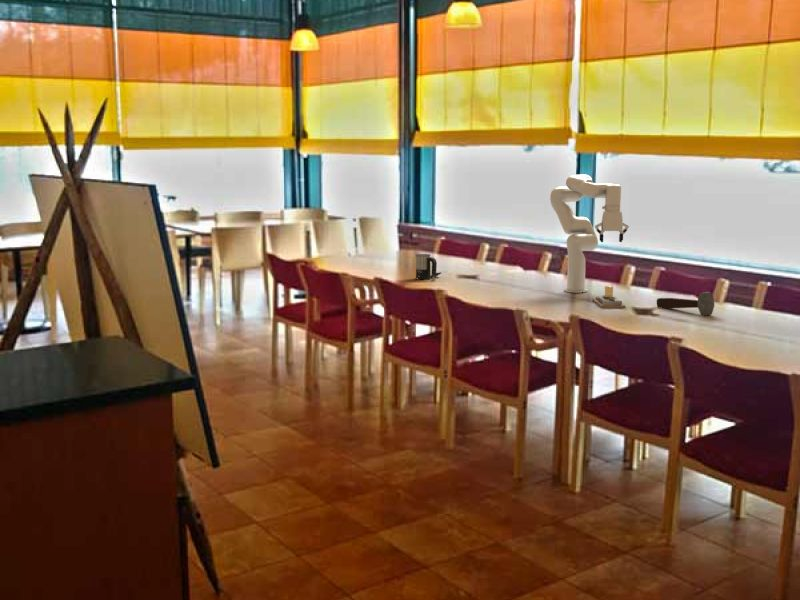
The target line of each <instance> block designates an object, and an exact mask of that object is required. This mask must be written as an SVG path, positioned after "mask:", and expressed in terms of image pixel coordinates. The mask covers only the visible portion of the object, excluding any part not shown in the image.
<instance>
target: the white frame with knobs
mask: <svg viewBox="0 0 800 600" xmlns="http://www.w3.org/2000/svg"><path fill="white" fill-rule="evenodd" d="M591 300H592V302H593V301H594V304H596V305H597V306H598V307H599V306H600V309H624V308H625V309H626V305H625V304H624V303H623V301H622V300H621V299H620V298H619V297H617V296H616V295H615V296H614V295H613V298H610V299H605V294H603V295H602V296H595V297H593V298H592V299H591Z"/></svg>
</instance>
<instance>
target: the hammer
mask: <svg viewBox="0 0 800 600" xmlns="http://www.w3.org/2000/svg"><path fill="white" fill-rule="evenodd" d="M656 306H657V308H659V307H662V308H661V309H687V308H688V309H690V308H691V309H692V308H694V309H695V308H698V311H699V314H700V316H702V315H710V316H711V315H712V314H713V312H714V308H715V298H714V297H713V294H712V292H711V291H710V292H709V291H703V292H700V293H699V294H698V297H697V299H688V298H678V297H677V298H676V297H660V298H656Z"/></svg>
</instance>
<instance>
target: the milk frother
mask: <svg viewBox="0 0 800 600" xmlns="http://www.w3.org/2000/svg"><path fill="white" fill-rule="evenodd" d="M437 263H438V262H437V259H435V258H434V257H431V254H430V253H418V254H415V279H416V278H418V279H428V280H431V279H430V278H434V277H435V276H436V277H438V276H440V275H442V272H441V271H440V272H437V265H438V264H437ZM418 279H417V280H418Z"/></svg>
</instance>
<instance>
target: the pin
mask: <svg viewBox="0 0 800 600" xmlns="http://www.w3.org/2000/svg"><path fill="white" fill-rule="evenodd" d="M604 295H605V299H610V298H613V296H614V286H612V285H605V286H604Z"/></svg>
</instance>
